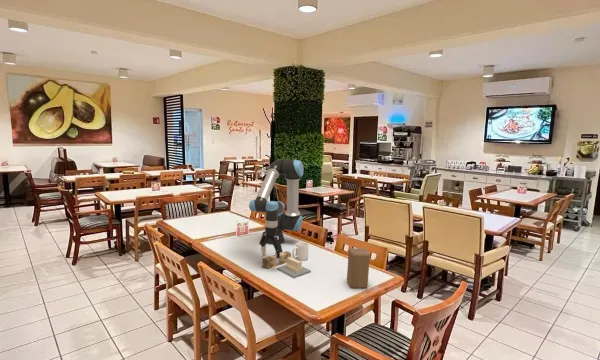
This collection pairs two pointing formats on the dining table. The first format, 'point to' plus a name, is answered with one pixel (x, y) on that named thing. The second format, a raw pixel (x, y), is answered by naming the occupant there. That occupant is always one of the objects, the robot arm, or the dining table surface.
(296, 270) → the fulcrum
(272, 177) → the robot arm
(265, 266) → the oak bar
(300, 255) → the cup
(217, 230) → the dining table surface
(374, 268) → the dining table surface
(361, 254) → the wooden block
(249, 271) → the dining table surface
